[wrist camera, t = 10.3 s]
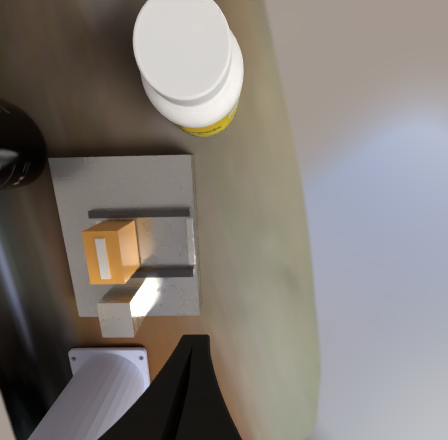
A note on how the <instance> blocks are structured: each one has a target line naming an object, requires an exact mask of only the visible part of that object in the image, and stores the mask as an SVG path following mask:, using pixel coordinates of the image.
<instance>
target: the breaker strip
mask: <svg viewBox="0 0 448 440" xmlns="http://www.w3.org/2000/svg"><path fill="white" fill-rule="evenodd" d="M48 161H49V166H50V171H51V176H52V181H53V186H54V191H55V196H56V201H57V206H58V212H59V217H60V222H61V227H62V232H63V237H64V242H65V247H66V252H67V257H68V262H69V267H70V272H71V277H72V282H73V287H74V293H75V298H76V303H77V308H78V313H79V317H99V320H100V326H101V331H102V337H135V335H136V333H137V331H138V329H139V327H140V325H141V323H142V322H143V320H144V318H145V316H175V315H200V310H201V304H202V296H201V276H200V257H199V238H198V218H197V199H196V180H195V161H194V155H156V156H115V157H74V158H48ZM123 220H134V221H135V229H136V238H137V246H138V255H139V263H140V266H139V268H138V269H137V270H136V271H135V272H134V274H133V275H132V276H131V277H130V278H129V280H128V281H127V282H126V283H125V284H91V283H90V278H89V272H88V267H87V261H86V255H85V250H84V244H83V238H82V233H81V231H84V230H86V229H88V228H90V227H92V226H94V225H96V224H98V223H100V222H102V221H123Z"/></svg>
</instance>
